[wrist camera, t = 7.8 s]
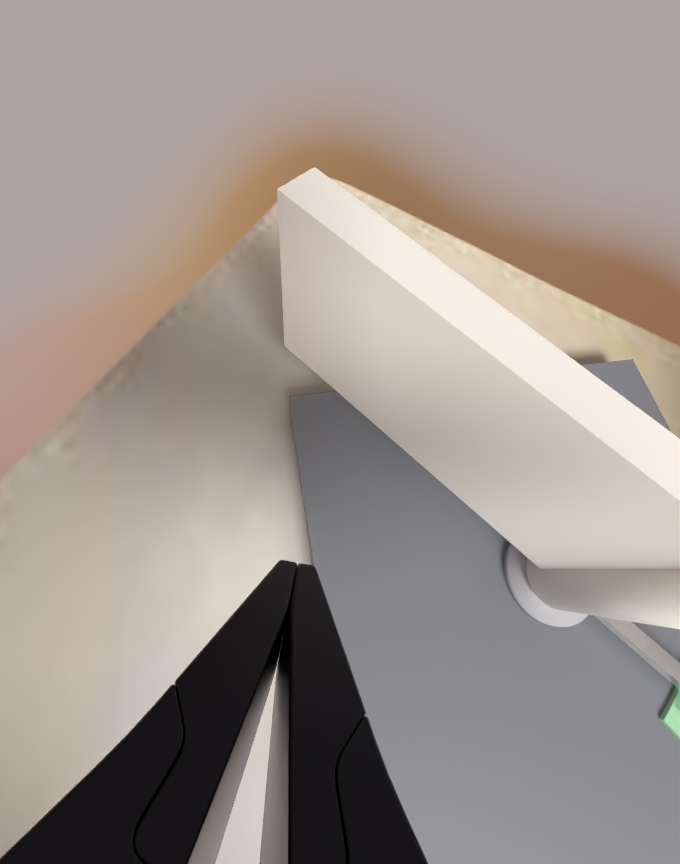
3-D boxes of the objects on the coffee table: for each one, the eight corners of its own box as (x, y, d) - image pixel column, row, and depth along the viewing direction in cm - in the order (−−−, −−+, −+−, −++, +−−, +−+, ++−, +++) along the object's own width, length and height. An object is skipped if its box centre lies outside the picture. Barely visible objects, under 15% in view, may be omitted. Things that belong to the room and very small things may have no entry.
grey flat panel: (369, 953, 13) (381, 1013, 11) (289, 407, 20) (289, 392, 18) (816, 774, 17) (877, 799, 15) (613, 371, 24) (637, 355, 22)
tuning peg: (786, 731, 15) (1559, 988, 6) (769, 802, 14) (1672, 1250, 5) (314, 332, 20) (332, 121, 10) (275, 364, 19) (256, 162, 9)
